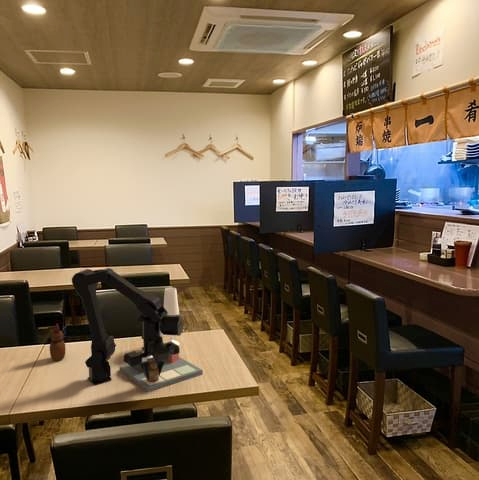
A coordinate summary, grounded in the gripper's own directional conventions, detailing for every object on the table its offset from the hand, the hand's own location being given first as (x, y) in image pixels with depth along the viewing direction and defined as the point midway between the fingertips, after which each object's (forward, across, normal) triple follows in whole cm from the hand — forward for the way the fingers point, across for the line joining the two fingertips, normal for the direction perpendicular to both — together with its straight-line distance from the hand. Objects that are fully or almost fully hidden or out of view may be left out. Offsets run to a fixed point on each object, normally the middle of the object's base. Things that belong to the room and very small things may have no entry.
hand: (152, 376), depth 164 cm
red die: (+1, +14, +11) cm, 18 cm away
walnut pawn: (+1, 0, 0) cm, 1 cm away
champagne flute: (+3, +25, +29) cm, 38 cm away
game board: (+3, +7, +7) cm, 10 cm away
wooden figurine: (+3, -18, +43) cm, 47 cm away
